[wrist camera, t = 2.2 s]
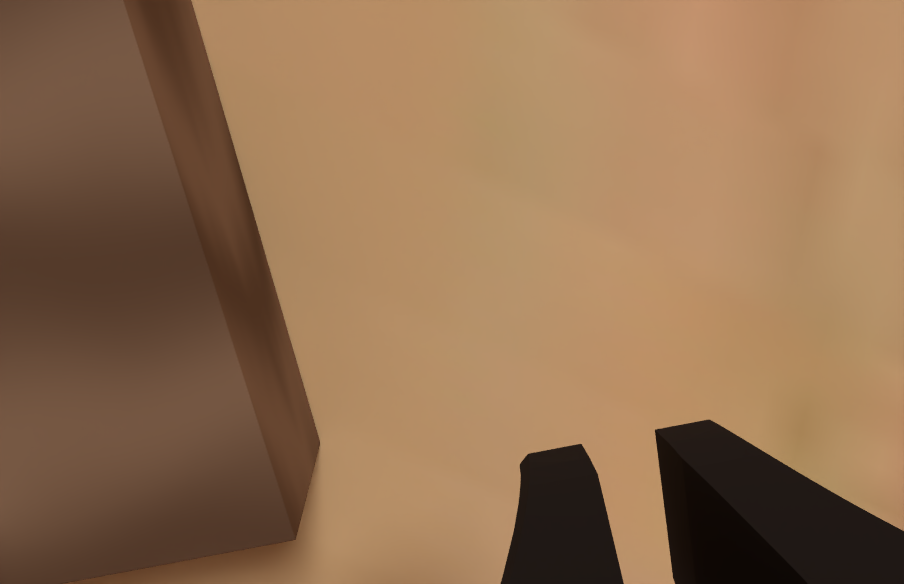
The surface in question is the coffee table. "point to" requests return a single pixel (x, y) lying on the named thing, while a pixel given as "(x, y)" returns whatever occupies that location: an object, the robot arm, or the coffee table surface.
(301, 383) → the walnut deck
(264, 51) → the coffee table surface
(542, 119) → the coffee table surface
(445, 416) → the coffee table surface
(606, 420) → the coffee table surface
